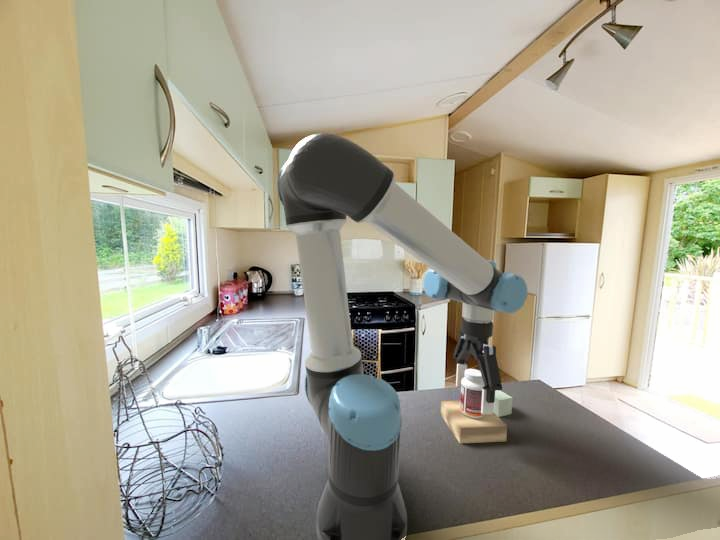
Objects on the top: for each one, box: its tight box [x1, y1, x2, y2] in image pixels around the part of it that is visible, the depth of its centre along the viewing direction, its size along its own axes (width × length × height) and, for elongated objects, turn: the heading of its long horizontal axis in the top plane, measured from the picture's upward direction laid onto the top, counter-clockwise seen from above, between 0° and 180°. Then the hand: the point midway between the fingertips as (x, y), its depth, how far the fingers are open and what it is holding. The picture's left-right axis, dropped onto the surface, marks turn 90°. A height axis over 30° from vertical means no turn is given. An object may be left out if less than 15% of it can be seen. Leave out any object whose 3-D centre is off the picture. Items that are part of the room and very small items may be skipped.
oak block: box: [440, 400, 508, 444], centre depth 75 cm, size 12×12×4 cm
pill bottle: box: [459, 368, 485, 419], centre depth 74 cm, size 6×6×11 cm
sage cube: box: [493, 390, 513, 418], centre depth 83 cm, size 5×5×5 cm
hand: (472, 398), depth 74 cm, fingers open, 13 cm apart
